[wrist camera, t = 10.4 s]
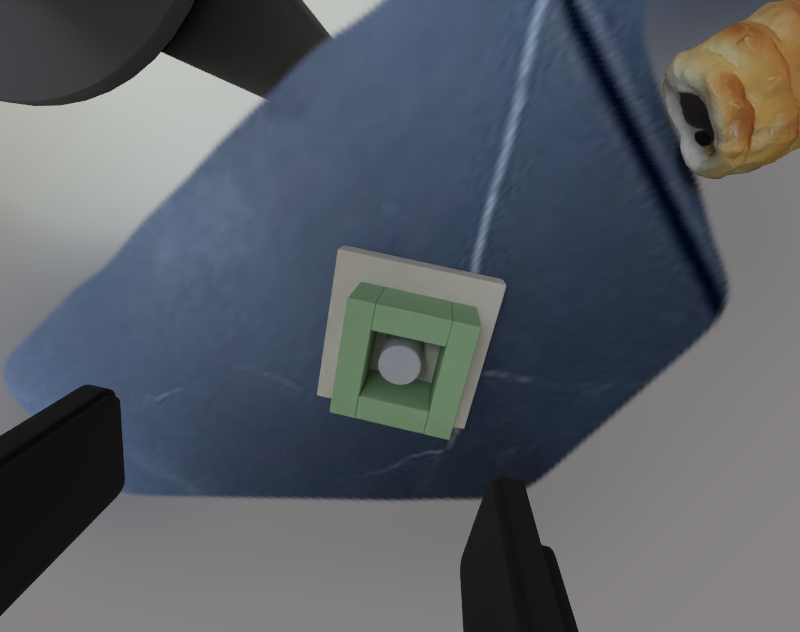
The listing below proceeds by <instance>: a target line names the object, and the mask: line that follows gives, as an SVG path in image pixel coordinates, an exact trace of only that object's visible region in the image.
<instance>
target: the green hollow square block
mask: <svg viewBox="0 0 800 632" xmlns="http://www.w3.org/2000/svg"><path fill="white" fill-rule="evenodd" d="M480 331H481V324H480V319H479V315H478V311H477V307H475V306H471V305H466V304H461V303H457V302H451V301H448V300H444V299H439V298H434V297H430V296H425V295H421V294H416V293H412V292H407V291H403V290H398V289H394V288H389V287H384V286H380V285H375V284H370V283H366V282H360V284H359V285H358V286H357V287H356V288H355V290H354V291H353V292H352V293H351V294H350V296H349V297H348V298H347V304H346V310H345V317H344V323H343V329H342V336H341V342H340V348H339V355H338V361H337V367H336V374H335V380H334V386H333V392H332V399H331V405H330V412H331V413H335V414H339V415H344V416H348V417H352V418H355V417H356V418H357V419H362V420H366V421H370V422H374V423H379V424H383V425H387V426H392V427H396V428H400V429H404V430H409V431H413V432H417V433H422V434H423V433H424V434H425V435H429V436H434V437H438V438H442V439H446V440H449V439H450V437H451V433H452V430H453V426H454V423H455V419H456V416H457V412H458V409H459V405H460V402H461V398H462V395H463V391H464V388H465V384H466V381H467V377H468V374H469V370H470V367H471V363H472V359H473V356H474V352H475V349H476V345H477V342H478V338H479V335H480ZM377 332H382V333H386V334H391V335H395V336H400V337H404V338H409V339H413V340H417V341H422V342H426V343H431V344H435V345H440V346H441V347H440V350H439V354H438V358H437V362H436V366H435V370H434V374H433V378H432V382H431V383H430V382H426V381H421V380H417V379H415V380H414V381H412V382H410V383H408V384H404V385H397V384H393V383H390V382H389V381H387V380H386V379H385V378H384V377H383V376H382V375H381V373H380V371H378V370H373V369H370V365H371V360H372V355H373V349H374V344H375V339H376V334H377Z"/></svg>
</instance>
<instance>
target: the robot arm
mask: <svg viewBox="0 0 800 632" xmlns="http://www.w3.org/2000/svg"><path fill="white" fill-rule="evenodd" d="M124 482H125V475H124V458H123V442H122V425H121V409H120V400H119V398H118V397H116V396H115V393H114V391H113V390H111V389H107V388H102V387H98V386H93V385H84V386H81V387H79V388H78V389H76V390H74V391H73V392H71V393H70V394H68V395H66V396H65V397H63V398H61V399H60V400H58V401H56V402H55V403H53V404H52V405H50V406H48V407H47V408H45V409H43V410H42V411H40V412H38V413H37V414H35V415H34V416H32V417H30V418H29V419H27V420H25V421H24V422H22V423H21V424H19V425H17V426H16V427H14V428H12V429H11V430H9V431H7V432H6V433H4V434H2V435H1V436H0V616H1V615H2V614H3V613H4V612H5V611H6V610H7V609H8V608H9V607H10V606H11V605H12V603H13V602H14V601H15V600H16V599H17V598H18V597H19V596H20V595H21V594H22V593H23V592H24V591H25V590H26V589H27V588H28V587H29V586H30V585H31V584H32V583H33V582H34V581H35V580H36V579H37V578H38V577H39V576H40V575H41V574H42V573H43V572H44V571H45V570H46V569H47V568H48V567H49V566H50V565H51V564H52V562H54V561H55V559H56V558H57V557H58V556H59V555H60V554H61V553H62V552H63V551H64V550H65V549H66V548H67V547H68V546H69V545H70V544H71V543H72V542H73V541H74V540H75V539H76V538H77V537H78V536H79V535H80V534H81V533H82V532H83V531H84V530H85V529H86V528H87V527H88V526H89V525H90V524H91V523H92V522H93V520H95V518H96V517H97V516H98V515H99V514H100V513H101V512H102V511H103V510H104V509H105V508H106V507H107V506H108V505H109V504H110V503H111V502H112V501H113V500H114V499H115V498H116V497H117V496H118V494H119V493H120V492H121V490H122V488H123V486H124ZM460 578H461V595H462V612H463V631H464V632H578V629H577V625H576V622H575V619H574V616H573V613H572V609H571V606H570V603H569V599H568V596H567V593H566V589H565V586H564V583H563V580H562V576H561V573H560V570H559V566H558V563H557V560H556V557H555V555H554V552H553V550H552V549H551V548H550V547H547V546H543V545H541V542H540V539H539V535H538V531H537V528H536V524H535V521H534V517H533V513H532V510H531V506H530V503H529V499H528V495H527V492H526V488H525V485H524V482H523V481H521V480H516V479H512V478H507V477H503V476H499V477H498V478H497V480H496V481H492V480H490V481H489V483H488V485H487V488H486V490H485V493H484V496H483V499H482V502H481V505H480V507H479V510H478V513H477V516H476V519H475V521H474V524H473V527H472V530H471V533H470V536H469V538H468V541H467V544H466V547H465V550H464V552H463V556H462V559H461V566H460Z"/></svg>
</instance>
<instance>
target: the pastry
mask: <svg viewBox="0 0 800 632" xmlns="http://www.w3.org/2000/svg"><path fill="white" fill-rule="evenodd" d="M665 76H666V78H665V80H664V84H663V87H664V98H665V103H666V108H667V112H668V114H669V115H670V117H671V119H672V121H673V124H674V126H675V127H676V129H677V130H678V131H679V133H680V135H681V142H680V148H681V153H682V156H683V158H684V161H685V164H686V166H687V167H689V168H690V169H691V170H692V171H693V172H695V173H696V174H697V175H699V176H703V177H707V178H712V179H720V178H722V177H724V176H726V175H731V174H742V173H747V172H750V171H753V170H756V169H758V168H760V167H762V166H763V165H767V164H770V163H773V162H775V161H776V160H778V159H779V158H781V157H783V156H784V155H786V154H788V153H789V152H791V151H793V150H795V149H797V148H800V0H786V1H779V2H770V3H768V4H766V5H764V6H763V7H761V8H760V9H758V10H757V11H755V12H754V13H753V14H752V15H751V16H750V17H749V18H748V19H746V20H744V21H742V22H740V23H736V24H734V25H732V26H729V27H727V28H725V29H724V30H722V31H720V32H719V33H717V34H715V35H713V36H712V37H711V38H709V39H708V40H706V41H705V42H703V43H701V44H700V45H698V46H696V47H695V48H693V49H691V50H688V51H684V52H680V53H678V54H677V55H676V56H675V58H674V59H673V60H672V61H671V62H670V63H669V65H668V68H667V70H666V73H665Z"/></svg>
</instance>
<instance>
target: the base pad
mask: <svg viewBox="0 0 800 632" xmlns="http://www.w3.org/2000/svg"><path fill="white" fill-rule="evenodd" d="M360 282H366V283H370V284H375V285H380V286H384V287H389V288H394V289H398V290H403V291H407V292H412V293H416V294H421V295H425V296H430V297H434V298H439V299H444V300H448V301H451V302H457V303H461V304H466V305H471V306H475V307H477V311H478V315H479V319H480V324H481V331H480V335H479V338H478V342H477V345H476V349H475V352H474V356H473V359H472V363H471V367H470V370H469V374H468V377H467V381H466V384H465V388H464V391H463V395H462V398H461V402H460V405H459V409H458V412H457V416H456V419H455V423H454V426H453V427H456V428H460V429H464V428H465V424H466V421H467V418H468V414H469V411H470V408H471V404H472V401H473V397H474V394H475V391H476V387H477V384H478V381H479V377H480V374H481V370H482V367H483V364H484V360H485V357H486V354H487V350H488V347H489V343H490V340H491V337H492V333H493V330H494V327H495V323H496V320H497V316H498V313H499V310H500V306H501V303H502V300H503V296H504V293H505V289H506V284H505V282H504V280H503V279H499V278H494V277H490V276H485V275H480V274H476V273H471V272H467V271H462V270H457V269H453V268H448V267H443V266H439V265H434V264H430V263H425V262H420V261H416V260H411V259H407V258H402V257H397V256H393V255H388V254H383V253H379V252H374V251H370V250H365V249H360V248H356V247H351V246H346V245H343V246H342V247H340V248H339V249H338V251H337V258H336V265H335V272H334V279H333V286H332V293H331V300H330V307H329V314H328V321H327V328H326V335H325V342H324V349H323V356H322V363H321V370H320V377H319V384H318V391H317V395H318V396H322V397H326V398H331V399H332V392H333V386H334V380H335V374H336V367H337V361H338V355H339V348H340V342H341V336H342V329H343V323H344V317H345V310H346V304H347V298H348V297H349V296H350V294H351V293H352V292H353V291H354V290H355V288H356V287H357V286H358V285H359V284H360ZM440 347H441V346H440V345H435V344H431V343H426V342H422V341H417V340H413V339H409V338H404V337H400V336H395V335H391V334H386V333H382V332H377V334H376V339H375V344H374V349H373V355H372V360H371V365H370V369H373V370H378V371H380V373H381V375H382V376H383V377H384V378H385V379H386V380H387V381H389V382H390V383H393V384H397V385H404V384H408V383H410V382H412V381H414V380H415V379H417V380H421V381H426V382H430V383H431V382H432V378H433V374H434V370H435V366H436V362H437V358H438V354H439V350H440Z"/></svg>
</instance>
